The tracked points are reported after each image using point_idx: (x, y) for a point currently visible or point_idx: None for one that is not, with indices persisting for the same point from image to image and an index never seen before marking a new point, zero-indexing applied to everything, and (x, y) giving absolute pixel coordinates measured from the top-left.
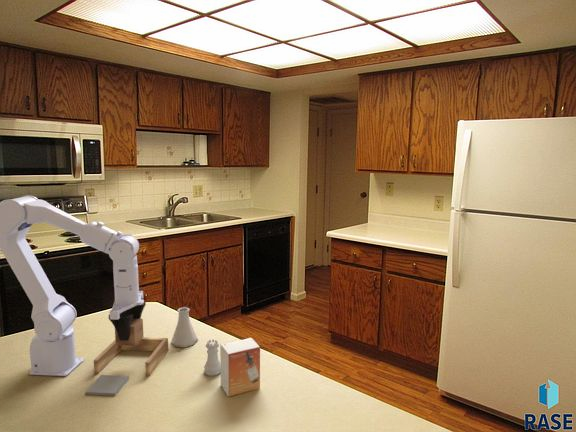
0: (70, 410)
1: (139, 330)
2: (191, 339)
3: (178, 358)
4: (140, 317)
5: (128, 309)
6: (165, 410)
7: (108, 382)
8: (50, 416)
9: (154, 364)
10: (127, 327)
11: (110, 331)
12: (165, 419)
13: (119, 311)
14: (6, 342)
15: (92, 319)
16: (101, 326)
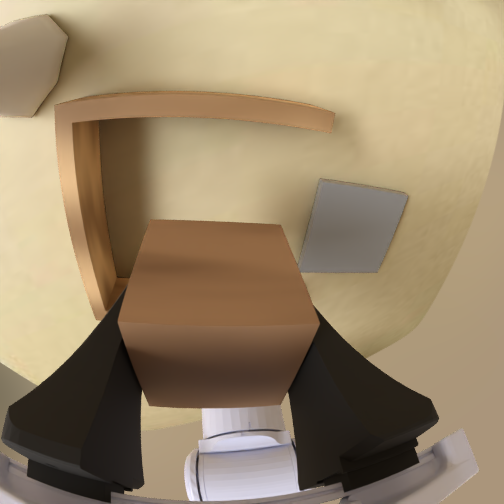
0: (419, 267)
1: (205, 266)
2: (31, 21)
3: (161, 20)
4: (94, 338)
5: (133, 452)
6: (474, 56)
7: (348, 234)
8: (421, 290)
9: (260, 97)
10: (358, 355)
11: (42, 333)
12: (493, 61)
13: (464, 477)
14: (155, 428)
15: (28, 370)
16: (37, 353)
